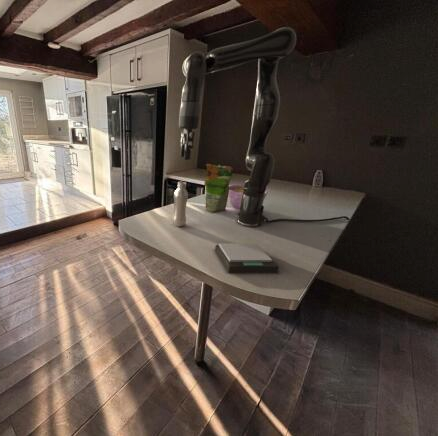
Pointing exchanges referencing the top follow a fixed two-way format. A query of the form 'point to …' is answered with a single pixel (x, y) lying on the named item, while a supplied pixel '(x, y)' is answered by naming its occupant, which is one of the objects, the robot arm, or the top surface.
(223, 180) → the pouch
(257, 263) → the scale
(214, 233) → the top surface
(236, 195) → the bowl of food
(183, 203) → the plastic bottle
